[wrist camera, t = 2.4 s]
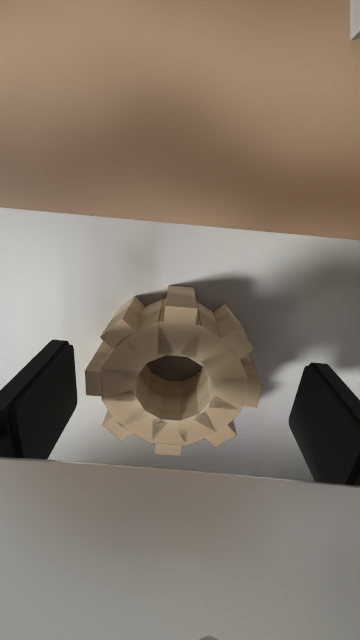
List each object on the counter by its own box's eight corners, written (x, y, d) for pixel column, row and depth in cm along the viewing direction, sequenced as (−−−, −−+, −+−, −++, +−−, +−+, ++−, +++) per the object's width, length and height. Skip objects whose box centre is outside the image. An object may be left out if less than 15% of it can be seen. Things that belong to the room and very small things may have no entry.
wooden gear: (233, 415, 16) (245, 460, 13) (105, 406, 15) (88, 449, 13) (257, 293, 13) (279, 315, 10) (103, 279, 13) (81, 298, 10)
